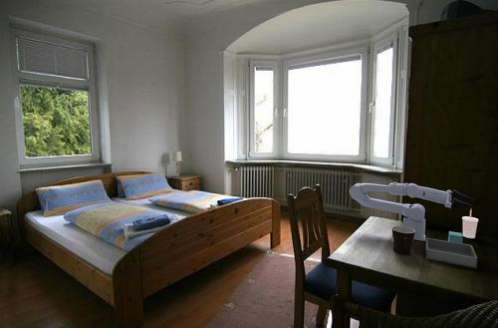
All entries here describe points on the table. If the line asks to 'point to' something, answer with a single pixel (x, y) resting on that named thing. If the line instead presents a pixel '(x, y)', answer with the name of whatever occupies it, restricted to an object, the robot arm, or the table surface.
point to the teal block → (455, 237)
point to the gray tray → (451, 253)
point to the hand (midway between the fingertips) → (471, 204)
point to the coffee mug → (402, 239)
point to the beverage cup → (469, 226)
